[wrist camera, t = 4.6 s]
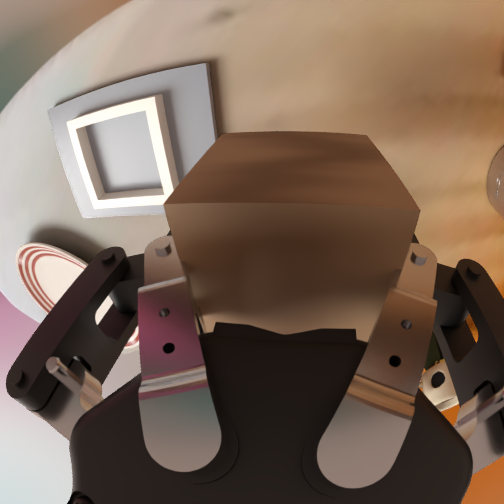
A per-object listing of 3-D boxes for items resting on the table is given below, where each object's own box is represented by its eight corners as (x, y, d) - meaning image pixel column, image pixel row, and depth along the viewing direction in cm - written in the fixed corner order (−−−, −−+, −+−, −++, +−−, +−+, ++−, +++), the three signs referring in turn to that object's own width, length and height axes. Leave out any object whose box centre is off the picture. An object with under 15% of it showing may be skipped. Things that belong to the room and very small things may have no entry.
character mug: (462, 315, 34) (484, 385, 24) (454, 337, 38) (470, 401, 28) (403, 331, 37) (417, 407, 27) (401, 352, 41) (411, 419, 31)
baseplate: (208, 62, 18) (200, 63, 16) (227, 207, 27) (222, 221, 25) (53, 107, 20) (38, 114, 19) (87, 213, 29) (76, 225, 28)
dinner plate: (181, 331, 44) (176, 348, 41) (96, 342, 54) (90, 353, 51) (64, 201, 29) (49, 216, 26) (11, 257, 39) (2, 268, 37)
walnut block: (366, 135, 10) (420, 210, 5) (352, 249, 14) (367, 351, 9) (222, 133, 11) (162, 204, 6) (237, 245, 15) (208, 343, 10)
